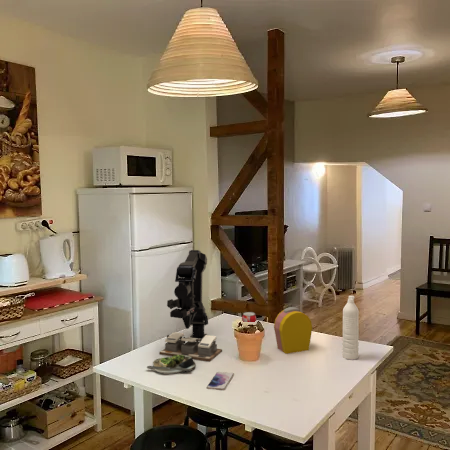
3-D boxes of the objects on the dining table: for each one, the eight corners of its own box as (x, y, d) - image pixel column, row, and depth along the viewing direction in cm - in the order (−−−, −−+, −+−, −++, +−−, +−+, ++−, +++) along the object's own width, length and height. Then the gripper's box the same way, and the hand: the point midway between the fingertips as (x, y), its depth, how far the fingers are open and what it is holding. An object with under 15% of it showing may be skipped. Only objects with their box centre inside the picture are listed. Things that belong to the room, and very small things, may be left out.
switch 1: (174, 334, 211) (173, 331, 211) (183, 335, 209) (183, 332, 209) (165, 341, 204) (165, 339, 204) (175, 343, 202) (175, 340, 202)
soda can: (257, 340, 219) (256, 315, 218) (242, 340, 219) (241, 315, 218) (256, 336, 226) (256, 311, 225) (241, 336, 226) (241, 311, 225)
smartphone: (205, 387, 167) (217, 371, 182) (205, 389, 167) (217, 373, 182) (224, 389, 166) (234, 372, 180) (224, 391, 166) (234, 374, 180)
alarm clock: (302, 344, 213) (302, 304, 212) (312, 349, 206) (312, 308, 204) (273, 348, 208) (273, 307, 207) (282, 354, 200) (281, 312, 199)
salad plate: (148, 379, 177) (148, 367, 176) (144, 362, 194) (144, 352, 194) (199, 373, 182) (198, 362, 181) (190, 357, 199) (190, 347, 199)
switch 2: (206, 336, 205) (205, 334, 204) (216, 338, 203) (216, 335, 202) (198, 347, 198) (197, 344, 197) (209, 348, 196) (208, 346, 195)
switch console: (174, 345, 214) (173, 330, 214) (222, 351, 205) (221, 336, 204) (159, 354, 202) (159, 339, 202) (209, 361, 193) (209, 346, 193)
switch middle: (189, 339, 208) (189, 337, 208) (199, 340, 206) (200, 338, 206) (181, 340, 201) (181, 337, 201) (191, 341, 199) (191, 339, 199)
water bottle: (357, 360, 192) (358, 300, 190) (341, 359, 194) (342, 299, 192) (359, 353, 200) (359, 296, 198) (343, 352, 202) (343, 295, 200)
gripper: (181, 287, 213) (182, 320, 215) (158, 296, 197) (159, 332, 198) (203, 289, 209) (203, 323, 210) (181, 298, 192) (182, 335, 193)
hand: (187, 328), depth 203 cm, fingers closed
